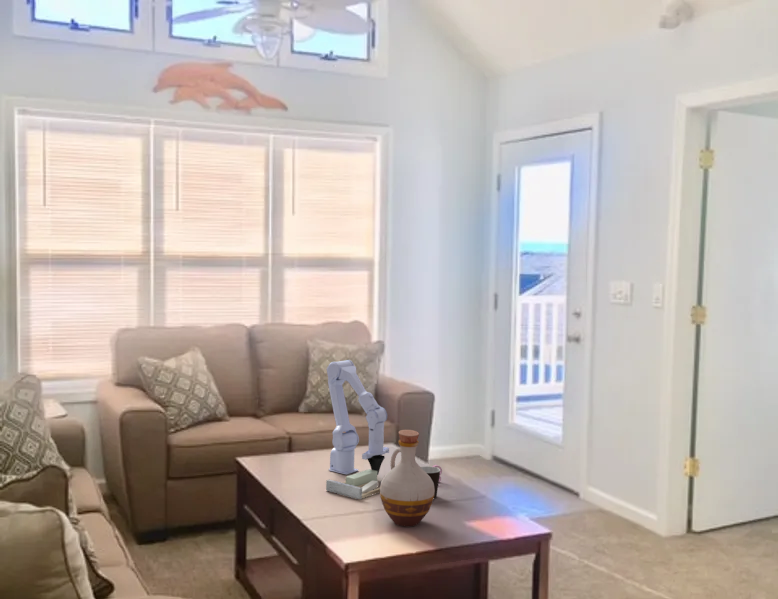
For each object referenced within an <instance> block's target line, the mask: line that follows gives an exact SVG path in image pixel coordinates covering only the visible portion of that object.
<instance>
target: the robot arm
mask: <svg viewBox="0 0 778 599" xmlns="http://www.w3.org/2000/svg"><path fill="white" fill-rule="evenodd" d="M326 373H327V384H328V385H327V386H328V389H329V395H330V399H331V405H332V410H333V416H334V420H335V425H336V426H335V428H334V430H333V431H332V446H333V448H332V449H331V451H330V455H329V468H328V471H330V472H335V473H339V474H343V475H351V474H352V473H353V474H354V473H355V472H356V473H357V472H358V470H359V469H358V468H355V452H356V451H355V449H356V448H357V445H358V444H359V442H360V438H359V434H358V433H357V430H356V427H355V426H354V425H353V424H351V422H350V417H349V412H348V411H349V410H348V407H347V402H346V397H345V393H344V392H345V391H344V386H343V385H344V383H345V382H347V383H348V384H349V385H350V386H351V388H352V389H353V391H355V393H356V394H357V396H358V398H357V399H358V400H357V401H358V403H359V404H360V406H361V408H362V409H363V411H364V413H365V414H366V415H365V419H366V422H367V426H368V450H366V451H365V452H364V453H362V454H361V460H365V461H368V464H369V466H370V469H371V470H375V471H377V476H378V475H379V474H380V470H381V466H382V464H383V461H384V459H385V455H386V454H389V453H390V447H386V446H384V444H385V443H384V442H385V441H384V436H385V432H384V431H385V422H386V421H387V420H388V413H387V410H386V408H385V407H383V406H381V405H379V404H378V402H377V400H376V398H374V395H373V393H371V391H367V390H366V388H365V387H364V385H363V383H362V381H361V380H360V378H359V377H360V376H358V373H357V366H356V365H355V364H354V362H353V361H352V360H351V359H346V360H340V361H339V360H338V361H331V362H330V363H329V364H328V365H327V366H326ZM359 471H360V470H359Z"/></svg>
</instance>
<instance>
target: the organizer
mask: <svg viewBox="0 0 778 599" xmlns="http://www.w3.org/2000/svg"><path fill="white" fill-rule="evenodd" d="M325 482H326V484H325V487H326V489H325V491H326V490H327V491H326V492H328V491H330V492H329V493H332V492H334V493H333V494H335V493H337V494H336V495H339V494H340V495H339V496H343V495H344V496H343V497H346V496H348V497H347V498H350V497H351V498H350V499H354V498H356V499H355V500H357V499H360V500H363V499H366V498H368V497H367V496H369V497H371V496H373V495H372V494H374V495H376V494H375V493H377V494H378V492H379V493H380V487H377V488H375V489H374V490H372V491H369V492H366V493H363V494H362V488H361V487H363V486H364V485H366V484H368V483H369V482H368V483H365V484H362V485H359V486H353V485H349V484H346V480H345V481H343V482H341V481H336V480H334V479H333V480H332V479H327V480H326V481H325ZM370 495H371V496H370ZM365 497H366V498H365ZM362 498H363V499H362Z"/></svg>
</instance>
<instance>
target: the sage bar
mask: <svg viewBox="0 0 778 599" xmlns="http://www.w3.org/2000/svg"><path fill="white" fill-rule="evenodd" d="M372 480H373V481H378V475H377V471H375V470H371V468H368V469H366V470H362V471H360V472H356V473H353V474H349V475H347V476H345V481H346V484H349V485H353V486H359V485H362V484H365V483H368V482H371V481H372Z"/></svg>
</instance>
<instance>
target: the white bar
mask: <svg viewBox="0 0 778 599" xmlns="http://www.w3.org/2000/svg"><path fill="white" fill-rule="evenodd" d="M377 486H378V487H379V480H377V481H373V480H372V481H371V482H369V483H368V484H366V485H364V486H363V487H361V488H362V494H363V493H366V492H369V491H372V490H373V489H374V488H375V489H377V488H378V487H377ZM376 487H377V488H376Z"/></svg>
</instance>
